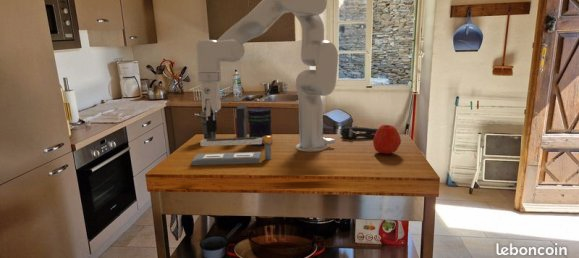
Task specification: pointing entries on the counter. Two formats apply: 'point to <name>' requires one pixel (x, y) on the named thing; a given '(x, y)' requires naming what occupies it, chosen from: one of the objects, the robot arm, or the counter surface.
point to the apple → (386, 139)
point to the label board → (231, 157)
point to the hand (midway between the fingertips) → (212, 131)
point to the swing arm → (236, 141)
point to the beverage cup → (204, 125)
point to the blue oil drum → (259, 123)
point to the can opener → (350, 134)
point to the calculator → (241, 121)
